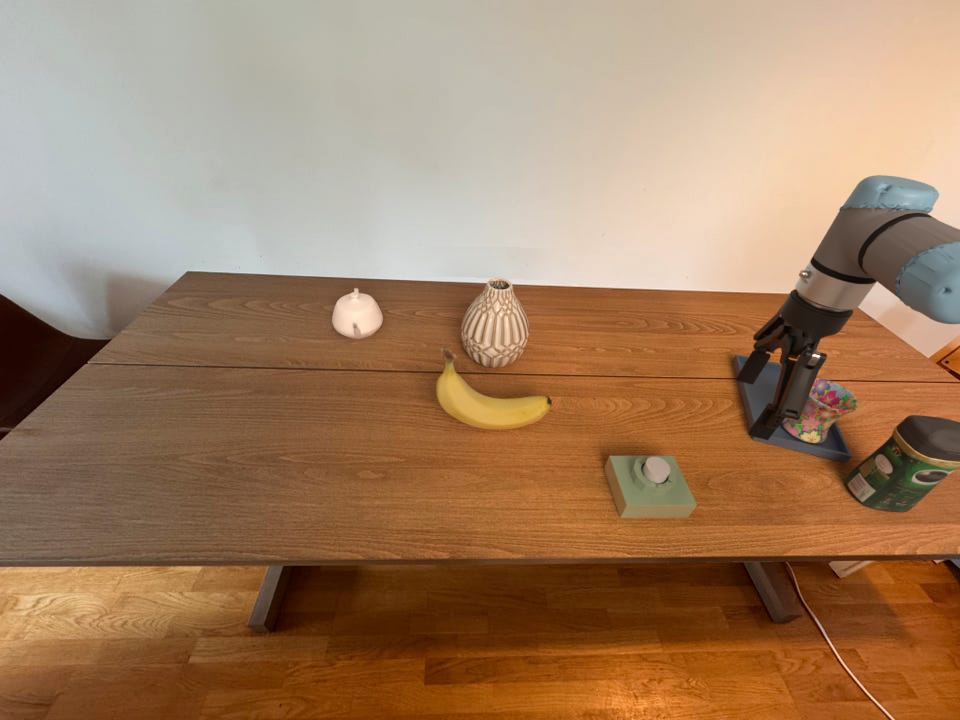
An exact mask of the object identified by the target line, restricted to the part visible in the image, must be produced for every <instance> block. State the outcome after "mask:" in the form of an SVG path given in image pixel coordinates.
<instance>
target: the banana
mask: <svg viewBox="0 0 960 720" xmlns="http://www.w3.org/2000/svg"><path fill="white" fill-rule="evenodd" d="M439 352H440V354H441V356H440V357H441V359H442V360H443V361H444V363H445V365H444V366H445V367H444V369H443V372H442V373H441V374H440V375H439V377H438V378H437V380H436V383H435V393H436V399H437V402H438V404H439V405H440V406H441V408H442V409H443V410H444V411H445V413H447V414H448V415H450V416H451V417H453V418H454V419H456V420H458V421H459V422H461V423H463V424H466V425H468V426H471V427H473V428H478V429H483V430H498V431H501V430H513V429H518V428H519V429H520V428H523V427H526V426H530V425H532V424H535V423H536V422H538V421H539V420H541V419H542V418H544V417H545V416H546V415H547V414H548V412H549V411H550V409H551V407H552V405H553V402H552V399H551V398H550V396H548V395H531V396H523V397H515V398H497V397H491V396H487V395H484V394H482V393H480V392H478V391H476V390H475V389H473V388H472V387H471V386H470V385H469V384H468V383H467V382H466V381H465V380H464V378H462V376H461V375H460V374H459V373H458V372H456V369H455V366H454V361H455V360H456V359H458V356H457V355H456V354H455V352H453V351H452V348H451V347H447V346H443V347H441V348H440V350H439Z"/></svg>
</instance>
